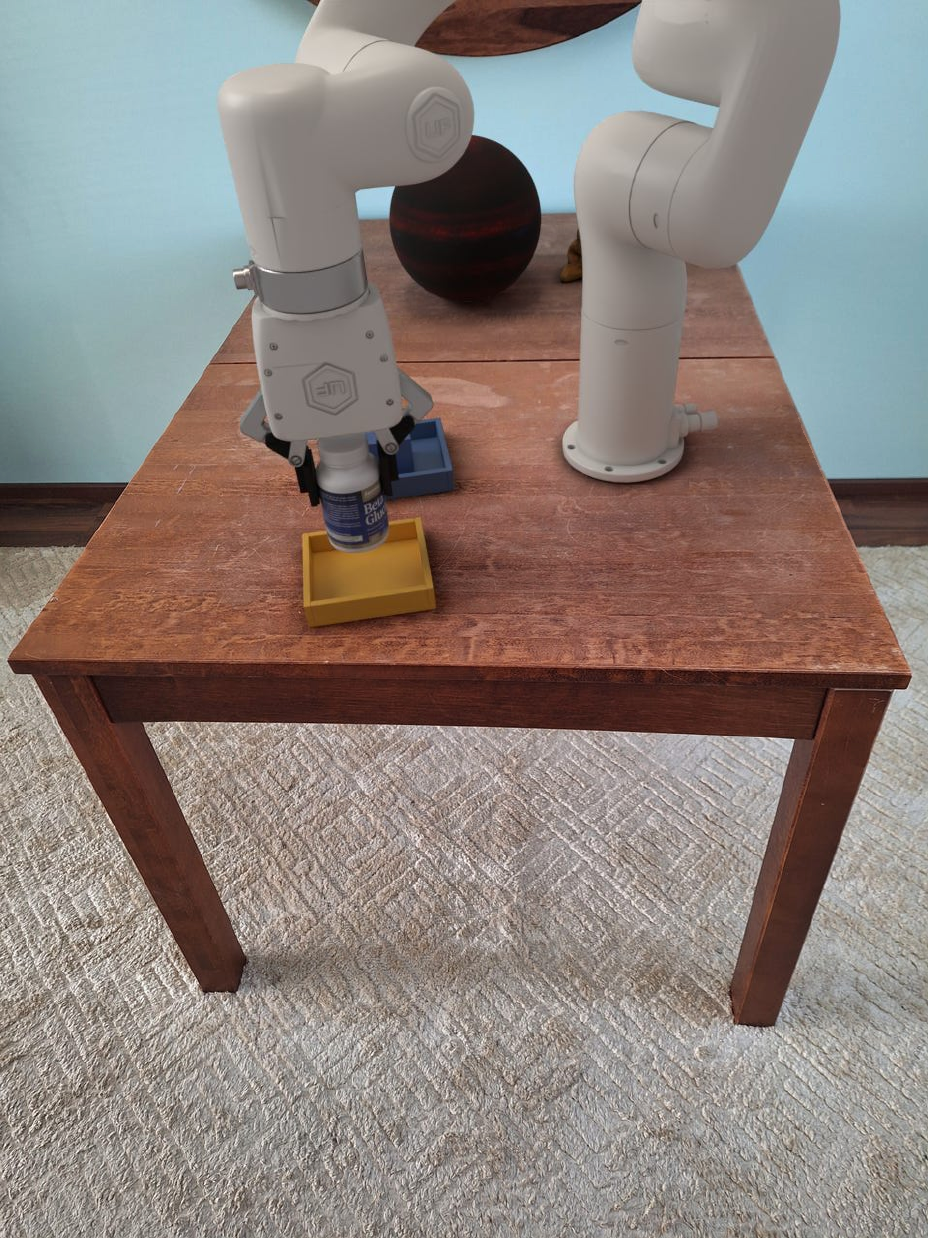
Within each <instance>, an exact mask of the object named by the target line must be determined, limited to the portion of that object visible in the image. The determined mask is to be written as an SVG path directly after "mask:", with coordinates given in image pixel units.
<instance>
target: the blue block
mask: <svg viewBox="0 0 928 1238" xmlns="http://www.w3.org/2000/svg"><path fill="white" fill-rule="evenodd" d="M365 434H366V436H367V440H368V446H369V452H370V453H371V454H373V455H374V456H375V457H376V458H377V460H378V462H379V457H378V450H377V443H376V440H378V439H377V437H376V436H375V434H374V432H369V433H365ZM396 460H397V467H398V474H405V473H413V472H415V469H414V461H413V453H412V445H411V437H410V434H409V435H408V436H407V437H406V438H405V439H404V440H403V442H402V443H401V444H400V445H399V449H398V451H397V453H396ZM379 465H380V464H379Z"/></svg>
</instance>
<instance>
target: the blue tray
mask: <svg viewBox="0 0 928 1238" xmlns="http://www.w3.org/2000/svg"><path fill="white" fill-rule="evenodd" d="M410 437H411V445H412V453H413V461H414V469H415V472H413V473H405V474H398V475H399V480H398V481H391V486H392V493H393V496H389V497H387V495H385V501H389V500H394V499H395V500H396V499H403V498H408V497H409V498H411V497H417V496H424V495H431V494H438V493H445V492H452V491H455V490H456V489H455V479H454V470H453V465H452V461H451V456H450V452H449V448H448V444H447V440H446V436H445V431H444V428H443V424H442V419H441V417H435V418H434V417H433V418H426V419H422V420H421V421H420V422H418V423H416V424H415V427H414V429H413V430H412V431H411V433H410Z"/></svg>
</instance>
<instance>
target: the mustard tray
mask: <svg viewBox="0 0 928 1238" xmlns="http://www.w3.org/2000/svg"><path fill="white" fill-rule="evenodd" d="M388 523H389V534H388V537H387V539H386V540H385V541H384V542H383V543H382V544H381V545H380V546H379V547H377V548H375V549H373V550H370V551H367V552H362V553H346V552H342V551H340V550H338V549H336V548H335V547H333V546H332V544H331V543H330V541H329V538H328V535H327V530H326V529H325V530H318V531H312V532H303V533H302V535H301V536H302V540H301V541H302V589H303V591H302V592H303V593H302V595H303V610H304V615H305V618H306V622H307V624H308V627H309V628H316V627H323V626H329V625H335V624H342V623H349V622H357V621H362V620H368V619H376V618H383V617H389V616H390V617H391V616H396V615H403V614H410V613H417V612H423V611H424V612H425V611H430V610H436V609H437V604H436V596H435V588H434V582H433V576H432V572H431V571H432V570H431V564H430V560H429V555H428V554H429V553H428V549H427V543H426V537H425V532H424V527H423V521H422V517H421V516H416V517H411V518H403V519H396V520H388Z"/></svg>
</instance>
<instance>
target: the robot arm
mask: <svg viewBox="0 0 928 1238" xmlns="http://www.w3.org/2000/svg"><path fill="white" fill-rule="evenodd" d="M456 1H457V0H319V2H318V4H317V7H316V9H315V11H314V12H313V15H312V17H311V19H310V21H309V23H308V25H307V27H306V29H305V32H304V34H303V36H302V38H301V41H300V43H299V46H298V48H297V51H296V55H295V59H294V62H280V63H272V64H264V65H258V66H254V67H250V68H249V67H248V68H247V69H243V70H241V71H238V72H236V73H234V74H233V75H230V76H229V77H228V78H226V79H225V80H224V81H223V82H222V84H221V85H220V88H219V91H218V94H217V99H216V101H217V102H216V104H217V112H218V119H219V124H220V128H221V133H222V137H223V139H224V146H225V149H226V153H227V159H228V163H229V167H230V171H231V175H232V179H233V185H234V188H235V192H236V197H237V202H238V207H239V210H240V214H241V215H240V216H241V219H242V223H243V228H244V231H245V236H246V240H247V245H248V248H249V253H250V258H251V259H250V260H248V264H247V265H243V267H242V268H241V267H240V268H234V269H232V276H233V281H234V286H235V289H236V290H246V289H247V291H253V293H254V295H257V297H256V298H255V299H254V302H253V305H252V307H251V325H252V326H251V328H252V340H253V341H252V342H253V349H254V355H255V362H256V367H257V368H256V369H257V375H258V378H259V383H260V388H259V389H258V392H257V393H256V394H255V396H254V397H253V399H252V400H251V402H250V404H249V405H248V407H247V408H246V410H245V412H244V413H243V415H242V416H241V417H240V423H239V431H240V432H241V434H242V435H245V436H247V437H248V438H250V439H252V440H254V441H256V442H258V443H259V444H263V445H265V446H266V448H267V449H269V450H270V451H272V452H274V453H276V454H277V455H279V456H281V457H282V458H284V459H286V460H287V461H288V464H289V465H290V466H291V467H293V468H294V471H295V475H296V480H297V484H298V489H299V492H300V494H308V499H309V503H310V507H311V508H314V507H319V505H321V501H320V497H319V492H318V488H317V483H316V477H315V471H316V464H315V459H314V455H313V449H312V448H310V446H309V445H308V441H314V440H319V439H323V438H331V437H339V436H347V435H354V434H361V433H369V432H374V434H375V436H376V437H377V439H378V440H376V443H377V450H378V457H379V464H380V471H381V477H382V484H383V490H384V495H387V497H389V496H393V493H392V486H391V481H398V480H399V475H398V467H397V460H396V453H397V451H398V449H399V445H400V444H401V443H402V442H403V440H404V439H405V438H406V437H407V436H408V435H409V434H410V433H411V431H412V430H413V429H414V427H415V424H416V423H418V422H420V421H421V420H424V418H425V417H426V416H427V415H428V414H429V413H430V412H431V411H432V410H433V409H434V401H433V396H432V395H431V394H430V393H429V392H428V391H427V390H426V389H425V388H424V387H422V386H421V385H420V384H419V383H417V382H416V381H415V380H414V379H413V378H411V377H410V376H409V375H408V374H406V373H405V371H403V370H402V369H401V368H400V367H398V362H397V357H396V352H395V346H394V340H393V336H392V335H393V334H392V330H391V326H390V321H389V319H388V315H387V311H386V309H385V308H386V307H385V305H384V301H383V299H382V296H381V294H380V292H379V290H378V287H377V285H376V284H375V283H373V281H371V280H368V275H367V267H366V260H365V255H364V246H363V239H362V232H361V225H360V217H359V211H358V203H357V196H356V193H357V192H359V191H363V190H369V189H377V188H378V189H380V188H390V187H391V188H392V187H395V186H404V185H412V184H418V183H422V182H426V181H429V180H432V179H434V178H436V177H438V176H440V175H442V174H443V173H445V172H447V171H448V170H449V169H450V168H451V167H453V166H454V165H455V164H456V162H457V161H458V160H459V159H460V158H461V156H462V155H463V154H464V152H465V150H466V148H467V147H468V144H469V142H470V139H471V136H472V135H473V131H474V126H475V125H474V124H475V105H474V101H473V97H472V94H471V91H470V87H469V86H468V84H467V82H466V80H465V79H464V77H463V75H461V73H460V72H459V71H458V70H457V69H456V68H455V67H454V66H453V65H452V64H451V63H449V61H447V60H446V59H445V58H443V57H442V56H440V55H437V54H436V53H434V52H432V51H429V50H426V49H423V48H420V47H416V44H417V42H418V41H419V40H420V39H421V37H422V35H423V34H425V31H426V30H427V29H428V28H429V26H431V24H432V23H433V22H434V21H435V20H436V19H437V18H438V17H439V16H440V15H441V14H442V13H444V11H445V10H446V9H447V8H449V7H450V6H451V5H453V4H454V3H455V2H456ZM841 18H842V17H841V3H840V0H641V3H640V7H639V10H638V14H637V17H636V21H635V26H634V31H633V38H632V44H631V60H632V64H633V69H634V71H635V74H636V75H637V76H638V78H639V79H640V80H641V81H642V83H644V84H645V85H646V86H648V87H649V88H651V89H653V90H655V91H657V92H659V93H660V94H661V93H662V94H664V95H668V96H670V97H673V98H678V99H682V100H684V101H685V100H686V101H690V102H694V103H698V104H703V105H707V106H711V107H715V108H718V110H717V114H716V117H715V120H714V124H713V127H711V126H706V125H703V124H698V123H696V122H694V121H691V120H686V119H684V118H679V117H675V116H671V115H667V114H662V113H658V112H653V111H646V110H626V111H621V112H617V113H614V114H612V115H610V116H608V117H606V118H605V119H603V120H602V121H600V122H599V123H598V124H596V126H594V127H593V129H592V130H591V131H590V132H589V133H588V134H587V136H586V137H585V139H584V141H583V143H582V144H581V147H580V148H579V152H578V155H577V158H576V161H575V165H574V173H573V198H574V207H575V213H576V220H577V226H578V228H579V232H580V239H581V249H582V270H583V276H582V283H581V284H582V285H581V288H582V289H581V310H580V311H581V313H580V342H579V343H580V345H579V370H578V371H579V373H578V375H579V377H578V407H577V409H578V411H577V419H576V420H575V421H574V422H572V423H570V424H569V426H568V427H567V428H566V430H565V431H564V433H563V436H562V440H561V441H562V454H563V456H564V458H565V460H566V461H567V463H568V464H569V465H570V466H571V467H573V468H574V469H575V470H576V471H578V472H580V473H581V474H583V475H586V476H588V477H590V478H593V479H597V480H600V481H604V482H605V481H606V482H611V483H639V482H644V481H649V480H652V479H657V478H658V477H661V476H663V475H665V474H667V473H669V472H671V470H673V469H674V468H675V467H676V466H677V465H678V464H679V463H680V461H682V457H683V455H684V450H685V449H684V447H685V440H684V438H685V437H687V436H688V435H689V433H694V432H707V431H713V430H717V428H718V427H719V418H718V414H717V412H716V410H708V411H703V412H698V405H697V403H696V402H690V403H684V404H680V405H675V404H674V403H675V395H676V386H677V377H678V370H679V369H678V368H679V361H680V352H681V346H682V335H683V327H684V320H685V311H686V306H687V305H686V304H687V297H688V275H687V266H686V263H687V264H691V265H693V266H696V267H700V268H704V269H708V270H722V269H726V268H730V267H732V266H735V265H737V264H738V263H740V262H741V261H743V260H744V259H745V258H747V256H748V255H749V254H750V253H751V252H752V251H754V249H755V247H756V246H757V245H758V243H760V241H761V239H762V238H763V236H764V234H765V232H766V230H767V229H768V227H769V225H770V223H771V221H772V219H773V216H774V214H775V212H776V210H777V208H778V205H779V202H780V200H781V198H782V196H783V193H784V190H785V187H786V186H787V184H788V182H789V181H788V180H789V178H790V175H791V173H792V171H793V169H794V166H795V163H796V161H797V158H798V155H799V153H800V150H801V149H802V146H803V143H804V141H805V139H806V136H807V133H808V131H809V128H810V125H811V123H812V121H813V118H814V116H815V113H816V112H817V108H818V106H819V103H820V101H821V98H822V96H823V93H824V90H825V88H826V85H827V82H828V80H829V77H830V74H831V71H832V69H833V65H834V62H835V58H836V55H837V50H838V45H839V41H840V33H841V32H840V31H841ZM403 399H404V400H405V401H406V402H408V403H407V405H405V407H403ZM266 418H267V421H268V422H267V421H265V419H266Z"/></svg>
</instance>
